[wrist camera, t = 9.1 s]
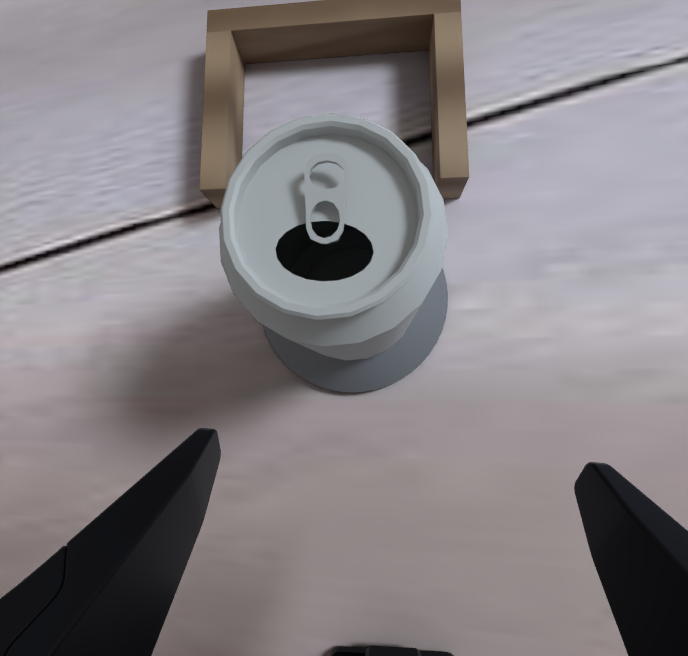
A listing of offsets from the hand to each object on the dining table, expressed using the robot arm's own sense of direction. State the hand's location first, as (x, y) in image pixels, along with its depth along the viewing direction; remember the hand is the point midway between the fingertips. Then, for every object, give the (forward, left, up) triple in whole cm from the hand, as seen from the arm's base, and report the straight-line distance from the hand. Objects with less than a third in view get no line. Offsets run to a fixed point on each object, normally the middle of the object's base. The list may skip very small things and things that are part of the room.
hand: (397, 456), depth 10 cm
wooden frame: (+18, +3, -13) cm, 22 cm away
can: (+7, +2, -13) cm, 14 cm away
